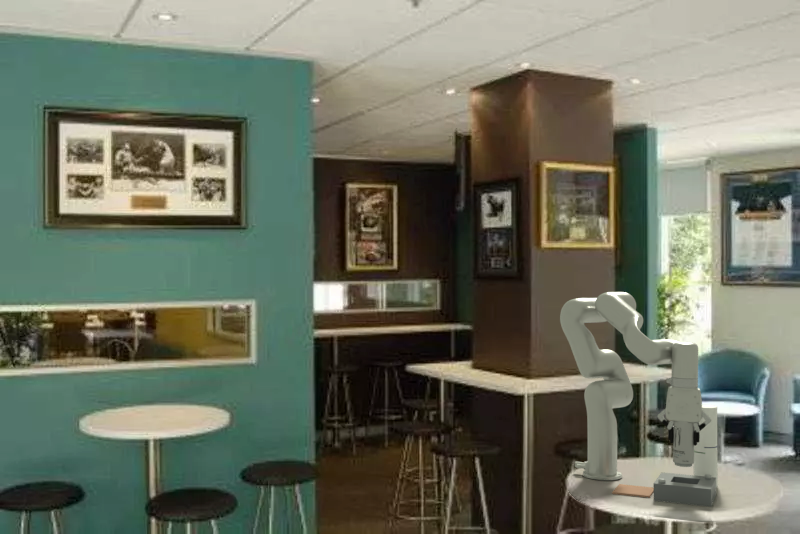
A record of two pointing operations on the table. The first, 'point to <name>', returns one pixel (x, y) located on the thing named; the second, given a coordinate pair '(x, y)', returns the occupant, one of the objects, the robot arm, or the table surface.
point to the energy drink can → (683, 443)
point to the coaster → (633, 490)
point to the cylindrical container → (707, 446)
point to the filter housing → (685, 489)
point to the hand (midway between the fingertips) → (683, 442)
